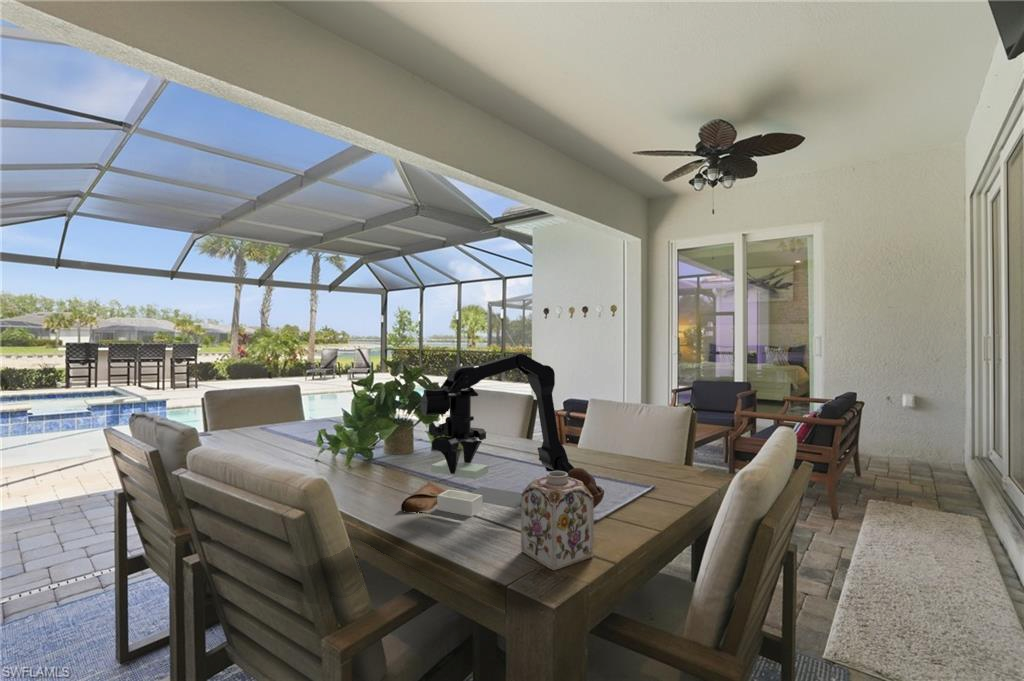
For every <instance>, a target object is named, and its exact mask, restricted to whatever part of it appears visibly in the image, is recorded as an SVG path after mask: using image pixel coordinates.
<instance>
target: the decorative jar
mask: <svg viewBox="0 0 1024 681" xmlns="http://www.w3.org/2000/svg"><path fill="white" fill-rule="evenodd" d="M521 493H522V495H521V505H520V509H521V510H520V511H521V513H520V520H521V521H520V541H521V542H520V544H521V545H520V546H521V550H520V551H521V553H523V554H524V555H527V556H528V557H529V558H532V559H533V560H535V561H536V562H538V563H539V564H541V565H543V566H545V567H546V568H548V569H550V570H551V569H552V570H551V571H553V570H554V571H558V570H560V569H563V568H565V567H568V566H571V565H574V564H577V563H580V562H582V561H584V560H588V559H591V558H592V557H594V547H595V546H594V544H595V542H594V540H595V539H594V538H595V537H594V536H595V533H594V531H595V527H594V526H595V523H594V509H595V508H594V509H593V496H592V495H591V493H590V491H589V490H588V489H587V488H586V486H585V485H584V484H583V482H582V481H579V480H576V479H574V478H570V477H568V474H567V473H566V472H564V471H551V472H548V471H547V473H546V476H540V477H537V478H534V479H533V480H531V482H530V483H529V484H528V485H527V486H526V487H525V488H524V489H523V491H522V492H521Z"/></svg>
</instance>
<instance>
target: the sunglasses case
mask: <svg viewBox="0 0 1024 681" xmlns="http://www.w3.org/2000/svg"><path fill="white" fill-rule="evenodd" d="M445 491H446V490H445V489H443V488H441V487H439V486H436V485H435V484H433V483H431V481H428V482H427V484H426V485H424V486H422V487H421V488H419V489H418V490H416V491H415V492H414V493H412V494H411V495H409V496H408V497H406V498H404V500H403V501H402V504H401V506H400V509H401V510H400V511H401V512H402V511H405V512H404V513H409V512H416V513H415V514H423V513H426V512H427V511H430V510H433V508H434V506H437V495H439V494H441V493H443V492H445ZM424 511H425V512H424ZM418 512H419V513H418Z"/></svg>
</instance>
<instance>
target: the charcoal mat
mask: <svg viewBox="0 0 1024 681" xmlns="http://www.w3.org/2000/svg"><path fill="white" fill-rule="evenodd" d="M469 493H472V494H478V495H483V503H485V504H492V505H495V506H502V507H507V508H513V509H517V508H518V507H520V506H521V495H522V492H517V491H513V490H511V491H510V490H506V489H498V488H493V487H487V486H479V487H478V488H476V489H474V490H472V491H470V492H469Z"/></svg>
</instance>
